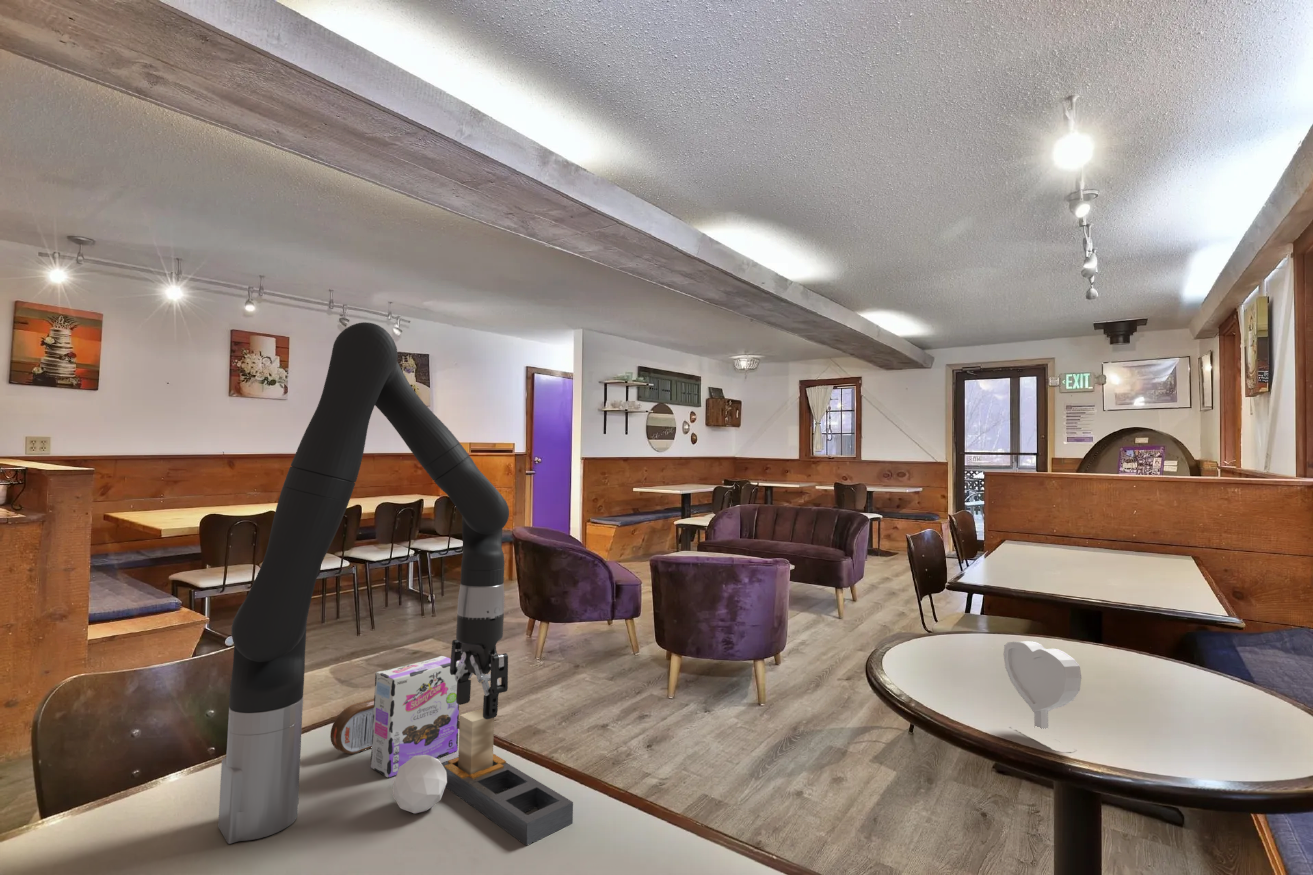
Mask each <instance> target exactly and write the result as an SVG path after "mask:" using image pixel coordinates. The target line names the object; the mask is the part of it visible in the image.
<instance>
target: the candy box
mask: <svg viewBox="0 0 1313 875" xmlns="http://www.w3.org/2000/svg"><path fill="white" fill-rule="evenodd" d="M450 662H451V657H448V656H444V655H439V656H437V657H434V658H431V659H427V660H422V661H418V662H414V663H410V664H406V665H402V666H398V667H394V668H390V669H387V670H379V671H375V674H374V675H375V676H374V678H375V679H374V698H373V699H374V715H373V733H372V734H373V735H372V748H371V753H370V755H371V756H370V769H373V771H376V772H377V773H379V774H381V775H383V777H386V778H388V777H389V778H392V777H394V776H396V775H397V773H398V770H399V767H400V766H402V765H403V764H404V763H406V762H407V761H408V760H410V759H411V758H412V757H414V756H419V755H429V756H432V757H434V758H436V759H439V758H442V757H445V756H447V755H450V754H452V753H454V752H457V751H459V720H460V712H459V710H460V705H459V704H457V703H456V696H457V681H456V680H455V675H451V674H450ZM459 662H460V660H458V661H457V662H456V667H457V666H458V664H459Z"/></svg>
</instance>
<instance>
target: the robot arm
mask: <svg viewBox="0 0 1313 875" xmlns="http://www.w3.org/2000/svg"><path fill="white" fill-rule="evenodd" d="M331 350H332V351H331V355H330V360H329V365H328V369H327V375H326V377H325V381H324V386H323V389H322V393H321V394H320V395H321V396H320V399H319V401H318V404H317V407H316V409H315V411H314V413H313V415H312V417H311V419H310V421H309V423H308V425H307V427H306V429H305V431H304V434H303V436H302V437H301V440H300V443H299V445H298V447H297V449H296V452H295V454H294V456H293V458H292V461H291V464H290V466H289V468H288V472H287V474H286V476H285V480H284V483H283V485H282V488H281V491H280V495H279V497H278V501H277V503H276V504H277V505H276V509H275V511H274V516H273V521H272V525H271V527H270V528H271V530H270V532H269V538H268V543H267V547H266V551H265V554H264V557H263V561H262V563H261V566H260V568H259V571H258V572H257V575H256V577H255V579H254V581H253V583H252V584H251V585H252V586H251V587H250V589H249V592H248V593H247V595H246V598H245V600H244V601H243V602H242V604H241V605H240V606H239V607H238V610H237V612H236V614H235V616H234V618H233V620H232V624H231V638H232V642H233V645H234V646H233V659H232V660H233V662H232V669H231V670H232V671H231V678H230V679H231V680H230V687H229V696H228V697H229V698H228V701H229V702H228V721H227V723H228V724H227V740H226V741H227V742H226V757H224V758H222V759H221V767H220V785H219V786H220V790H219V803H218V804H219V805H218V806H219V807H218V820H217V821H218V822H217V823H218V824H217V825H218V827H217V828H218V829H219V831H220V832H221V835H223V837H224V839H225V841H226V843H227V844H228V845H230V844H233V843H237V842H242V841H252V840H259V839H262V838H266V837H269V836H271V835H274V834H277V833H279V832H280V831H283V830H284V829H286V828H288V827H289V826H290V825H292V824H293V823H294V822H295V821H296V820H297V817H298V810H299V794H300V793H299V791H300V790H299V789H300V788H299V787H300V770H301V769H300V768H301V752H302V751H301V750H302V749H301V748H302V747H301V746H302V728H303V710H304V708H303V707H304V706H303V704H304V687H305V667H306V666H305V664H306V662H305V661H306V641H307V640H306V639H307V626H308V625H307V623H308V616H309V611H310V606H311V601H312V598H313V593H314V591H315V585H316V583H317V579H318V576H319V572H320V569H321V566H322V564H323V561H324V559H325V557H326V555H327V552H328V551H329V549H330V547H331V544H332V543H333V540H334V538H335V536H336V534H337V532H338V530H339V527H340V526H341V525H340V524H341V523H342V520H343V517H344V515H345V513H346V510H347V508H348V506H349V503H350V501H351V500H350V499H351V497H352V496H353V495H352V494H353V491H354V488H355V485H356V482H357V479H358V477H359V472H360V469H361V464H362V462H363V456H364V452H365V447H366V440H367V434H368V429H369V424H370V419H371V417H372V413H373V410H374V409H375V407H376V408H377V409H378V410H379V412H381V413H382V415H383V416H384V417H385V418H386V419H387V420H388V421H389V423H390V424H391V425H392V427H393V428H394V430H395V431H396V432H397V433H398V435H399V436H400V438H401V439H402V440H403V441H404V444H406V446H407V448H408V449H409V450H410V451H411V453H412V454H413V456H414V457H415V458H416V461H418V462H419V464H420V465H421V467H422V468H423V469H424V470H425V472H426V473H427V474H428V475H429V477H430V478H431V480H432V481H433V482H434V483H435V485H436V486H438V487H439V489H440V490H441V491H443V492H444V494H446V495H447V496H448V498H449V499H450V501H451V503H453V505H454V506H455V507H456V509H457V510H458V512H459V513H460V515H461V516H462V517H461V525H462V529H461V531H462V533H461V534H462V536H461V537H462V556H461V557H462V558H461V568H460V584H459V586H460V587H459V591H458V596H457V609H456V610H457V613H456V614H457V616H456V633H455V635H456V636H455V638H456V639H453V640H452V642H451V650H450V651H451V652H450V658H451V662H450V674H451V675H455V680H456V681H457V696H456V703H457V704H459V706H461V705H465V704H468V703H470V701H471V687H472V684H471V683H472V680H471V678H472V676H473V675H474V676H476V679H477V682H478V683H479V684H481V687H482V690H483V693H484V695H483V702H482V703H483V707H482V709H483V718H485V719H491V718H494V719H495V718H496V717H497V715H498V708H499V707H498V706H499V694H501V693H505V692H507V691H508V688H509V687H508V686H509V684H508V682H509V655H508V653H507V652H504V653H498V652H497V643H499V641H500V640H502V639H503V636H504V618H505V617H504V615H505V587H504V586H505V585H504V584H505V583H504V582H505V581H504V580H505V555H504V551H503V547H502V542H503V528H505V526H506V525H507V523H508V520H509V518H510V509H509V505H508V502H507V500H506V499H505V498H504V496H503V495H502V494H501V493H500V492H499V490H498V489H497V488H496V487H495V486H494V485H493V484H492V482H491V481H490V480H489V479H488V478H487V476H485V475H484V473H482V472H481V471H480V470H479V468H478V466H477V465H476V462H474V460H473V458H472V457H471V456H470V454H469V453H468V451H466V449H465V448H464V447H463V445H462V444H461V443H460V441H459V439H458V438H457V437H456V436H455V435H454V434H453V433H452V431H451V430H450V429H449V428H448V427H447V426H446V425H445V423H443V421H441V419H440V418H438V417H437V416H436V414H435V413H434V412H433V411H432V410H431V409H430V408H429V407H428V406H427V405H426V404H425V403H424V401H423V400H422V399H421V397H419V395H418V394H417V392H416V391H415V390H414V388H413V387H412V385H411V384H410V383H409V381H408V379H407V377H406V376H405V373H404V372H403V370H402V368H401V366H400V364H399V362H398V356H399V354H398V348H397V345H396V342H395V341H394V339H393V337H392V336H391V334H390V332H388V331H387V330H386V329H385V328H384V327H382V326H380V325H378V324H376V323H373V322H358V323H354V324H351V325H349V326H347V327H345V329H343V330H342V331H341V332H340V333H339V334H338V335H337V337H336V339H335V340H334V342H333V346H332V349H331ZM457 661H460V662H459V664H458V666H457V667H456V662H457ZM499 679H500V680H499ZM489 682H490V684H489Z"/></svg>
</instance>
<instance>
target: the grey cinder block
mask: <svg viewBox="0 0 1313 875" xmlns="http://www.w3.org/2000/svg"><path fill="white" fill-rule="evenodd" d="M441 764H442V765H443V767H444V768H445V770H446V774H447V784H446V787H445V789H448V790H449V791H450V792H452V793H453V794H455V795H456V796H457V797H458V798H460V799H461V800H463V801H464V802H465V803H467V804H468V805H469V806H471V807H473V808H474V809H475V810H476V811H478V812H480V813H481V815H483V816H485V817H487V819H489V820H490V821H492V822H493V823H494V824H496V825H497V826H499V827H500V828H501V829H502V830H504V831H506V832H507V833H508V834H510V835H511V836H512V837H513V838H516V839H517V840H518V841H519V840H520V842H521V843H522V842H523V843H524V844H523V843H522V844H523V845H525V846H526V845H528V844H530V845H531V843H532V842H534V843H536V842H537V840H538V841H540V840H541V838H542V839H544V838H546V837H548V836H549V835H552V834H553V833H555V832H558V831H560V830H561V829H564V828H566V827H568V826H570V825H571V824H573V823H574V822H573V821H574V818H573V817H574V816H573V815H574V801H572V800H571V799H569V798H567V797H566V796H563V795H562V794H560V793H559V792H557V791H555V790H553V789H552V788H551V787H548V786H547V785H545V784H544V783H542V782H540V781H538V780H537V779H535V778H534V777H532V776H530V775H528V774H526V773H524V772H523V771H521V770H520V769H518V768H517V767H515V766H514V765H513V766H512V765H511V764H510V763H508V762H507V760H505V759H503V758H502V757H500V756H498V755H496V754H494V753H493V766H492V767H489V768H486V769H484V770H481V771H478V772H475V773H473V774H470V775H468V774H467V773H465V772H464V771H462V770H461V769H459V768H458V756H457V757H454V758H451V759H449V760H445V761H442V762H441ZM536 808H537V809H538V810H536V811H534V812H531V813H530V814H526V813H527V812H529V811H531V809H532V810H533V809H536ZM559 829H560V830H559ZM547 835H548V836H547ZM545 836H546V837H545ZM535 841H536V842H535ZM532 844H533V843H532ZM528 846H529V845H528Z"/></svg>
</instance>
